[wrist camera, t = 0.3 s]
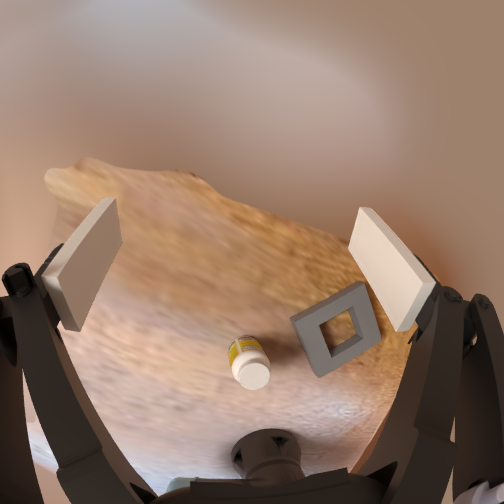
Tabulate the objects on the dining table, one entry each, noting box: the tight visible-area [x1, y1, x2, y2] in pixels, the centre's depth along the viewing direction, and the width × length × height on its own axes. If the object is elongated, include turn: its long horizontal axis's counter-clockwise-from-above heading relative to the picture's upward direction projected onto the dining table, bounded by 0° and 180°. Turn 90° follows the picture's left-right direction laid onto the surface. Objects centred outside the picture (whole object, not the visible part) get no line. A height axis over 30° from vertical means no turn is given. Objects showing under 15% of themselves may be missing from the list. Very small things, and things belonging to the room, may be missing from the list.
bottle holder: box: [290, 282, 382, 378], centre depth 50 cm, size 13×15×3 cm
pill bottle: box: [228, 336, 271, 390], centre depth 44 cm, size 6×6×11 cm
